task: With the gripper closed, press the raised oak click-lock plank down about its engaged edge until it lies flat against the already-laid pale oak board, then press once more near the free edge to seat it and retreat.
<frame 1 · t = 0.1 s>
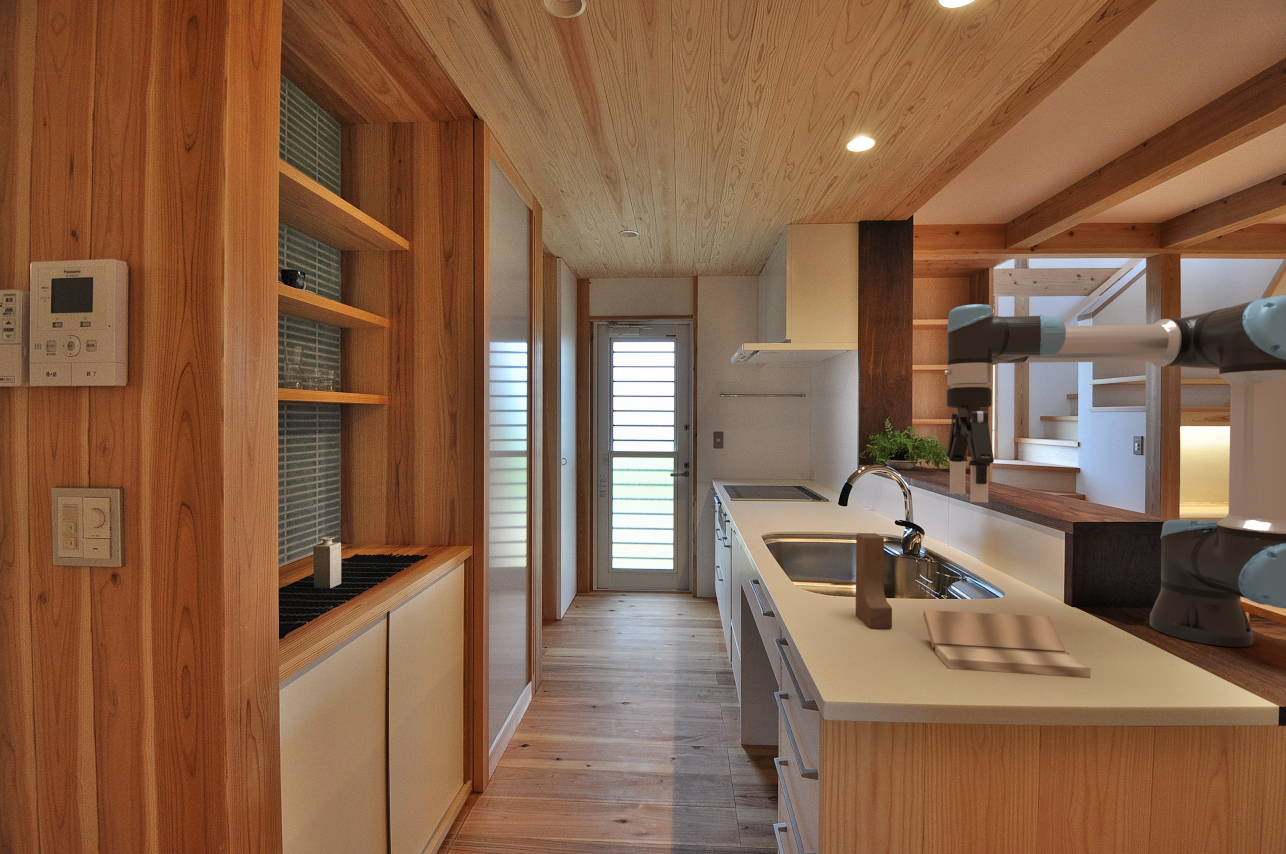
hand: (967, 497, 112), 28 cm above the countertop, fingers open, 13 cm apart
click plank: (991, 632, 108), point 3 cm above the countertop, hinge at 38.0°
wooden block: (873, 622, 123), on the countertop
laid board: (1008, 665, 101), on the countertop
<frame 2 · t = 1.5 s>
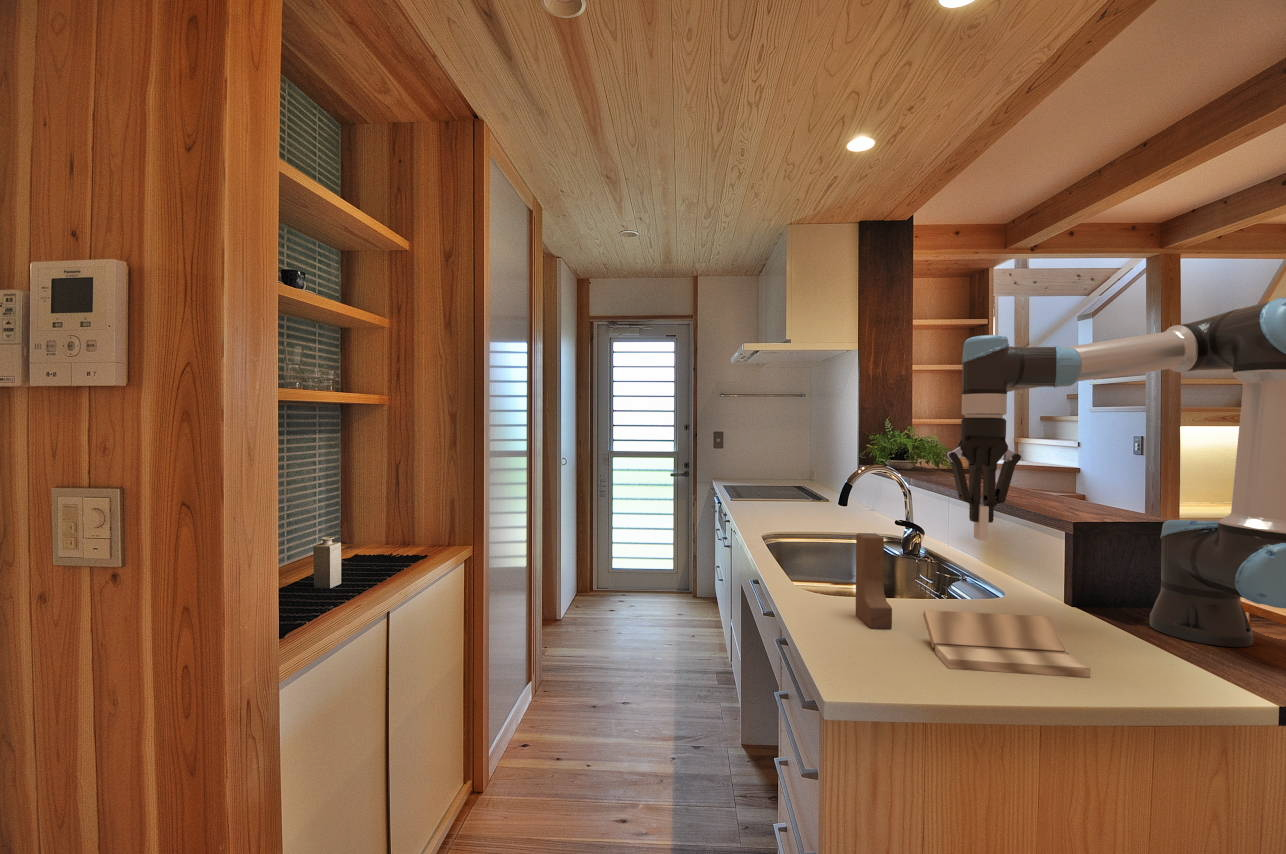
hand: (980, 539, 112), 20 cm above the countertop, fingers closed
nothing on the countertop moved.
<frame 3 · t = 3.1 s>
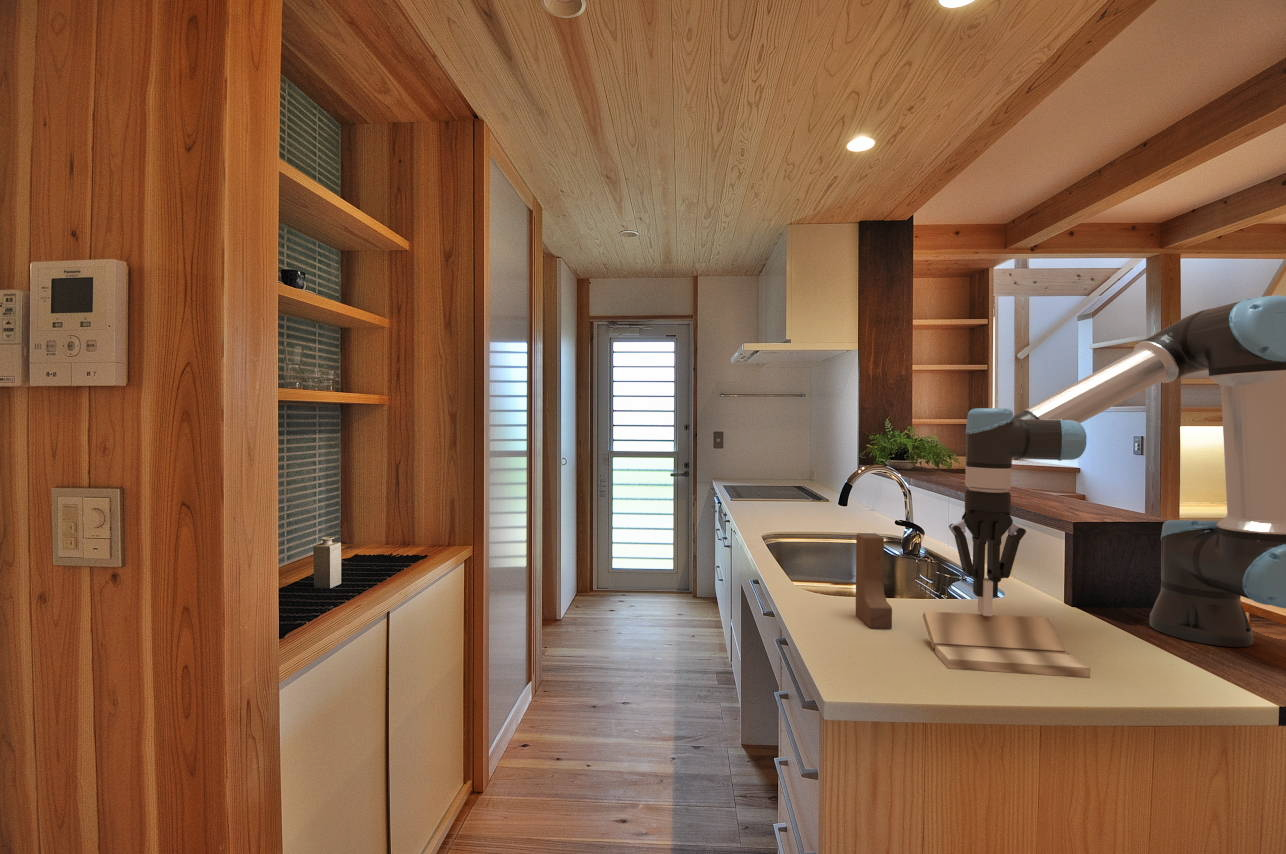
hand: (984, 613, 110), 6 cm above the countertop, fingers closed
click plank: (991, 632, 108), point 3 cm above the countertop, hinge at 35.2°, touching gripper
everything else where it was.
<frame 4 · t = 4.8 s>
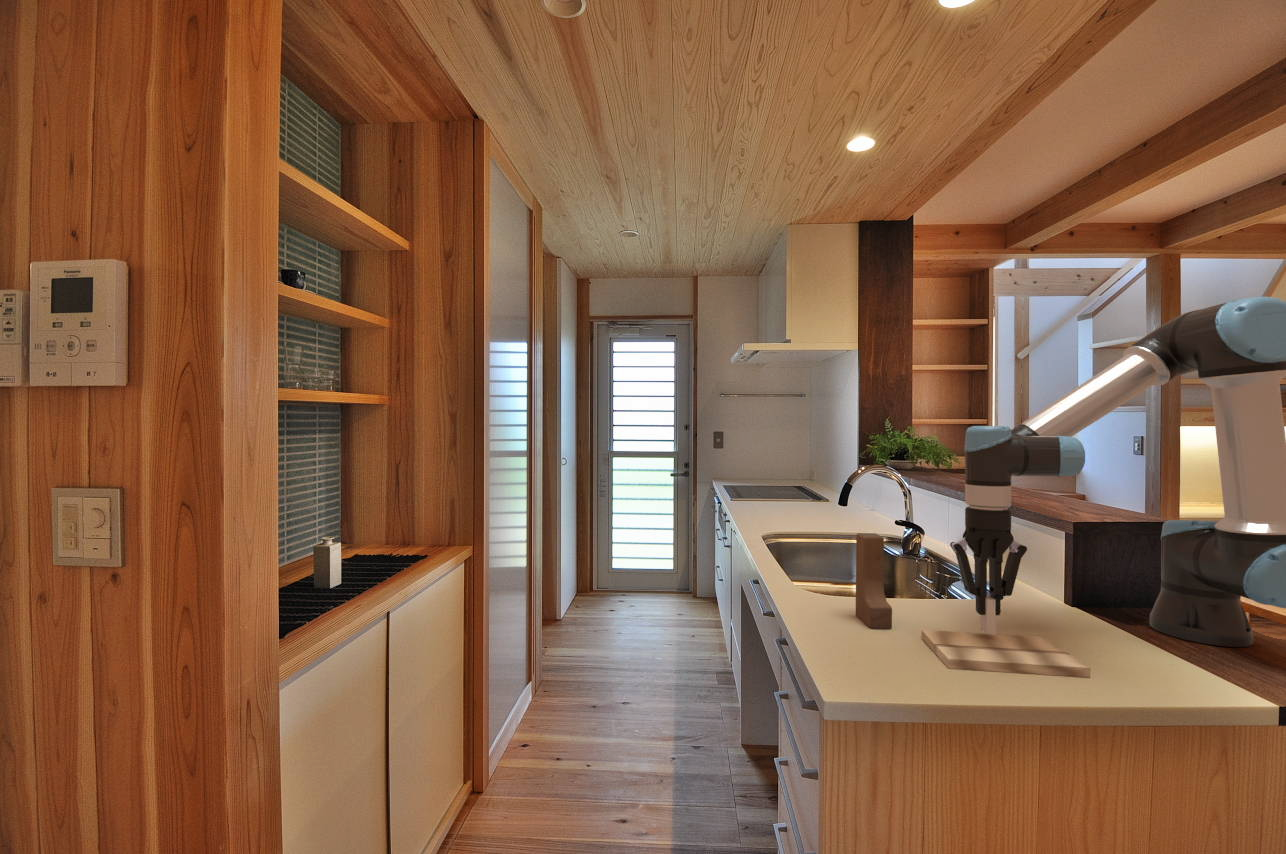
hand: (988, 631, 110), 3 cm above the countertop, fingers closed
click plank: (990, 644, 108), point 1 cm above the countertop, hinge at 1.1°
everything else where it was.
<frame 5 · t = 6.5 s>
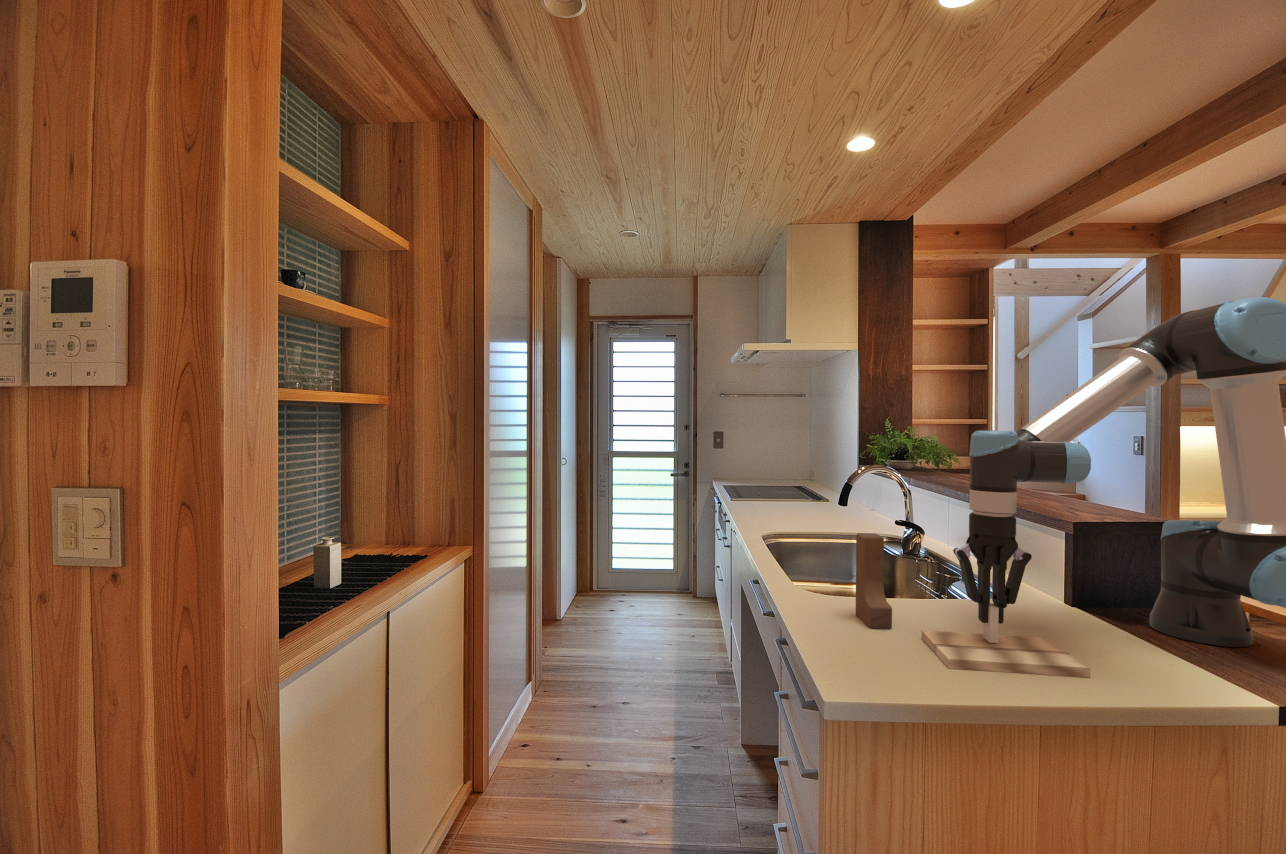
hand: (990, 640, 108), 2 cm above the countertop, fingers closed
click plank: (990, 644, 108), point 1 cm above the countertop, hinge at 0.6°, touching gripper
everything else where it was.
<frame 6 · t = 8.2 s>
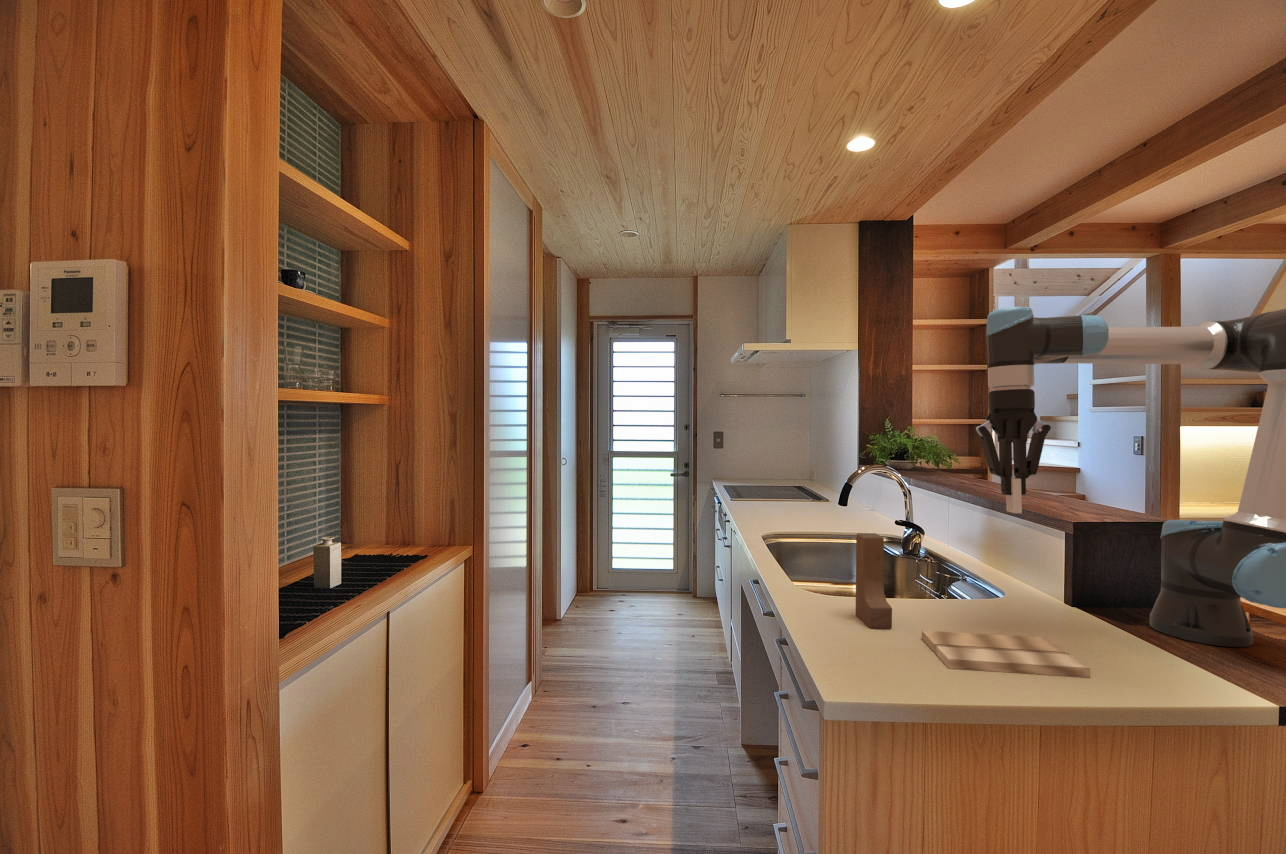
hand: (1014, 512, 112), 25 cm above the countertop, fingers closed
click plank: (990, 644, 108), point 1 cm above the countertop, hinge at 0.5°
everything else where it was.
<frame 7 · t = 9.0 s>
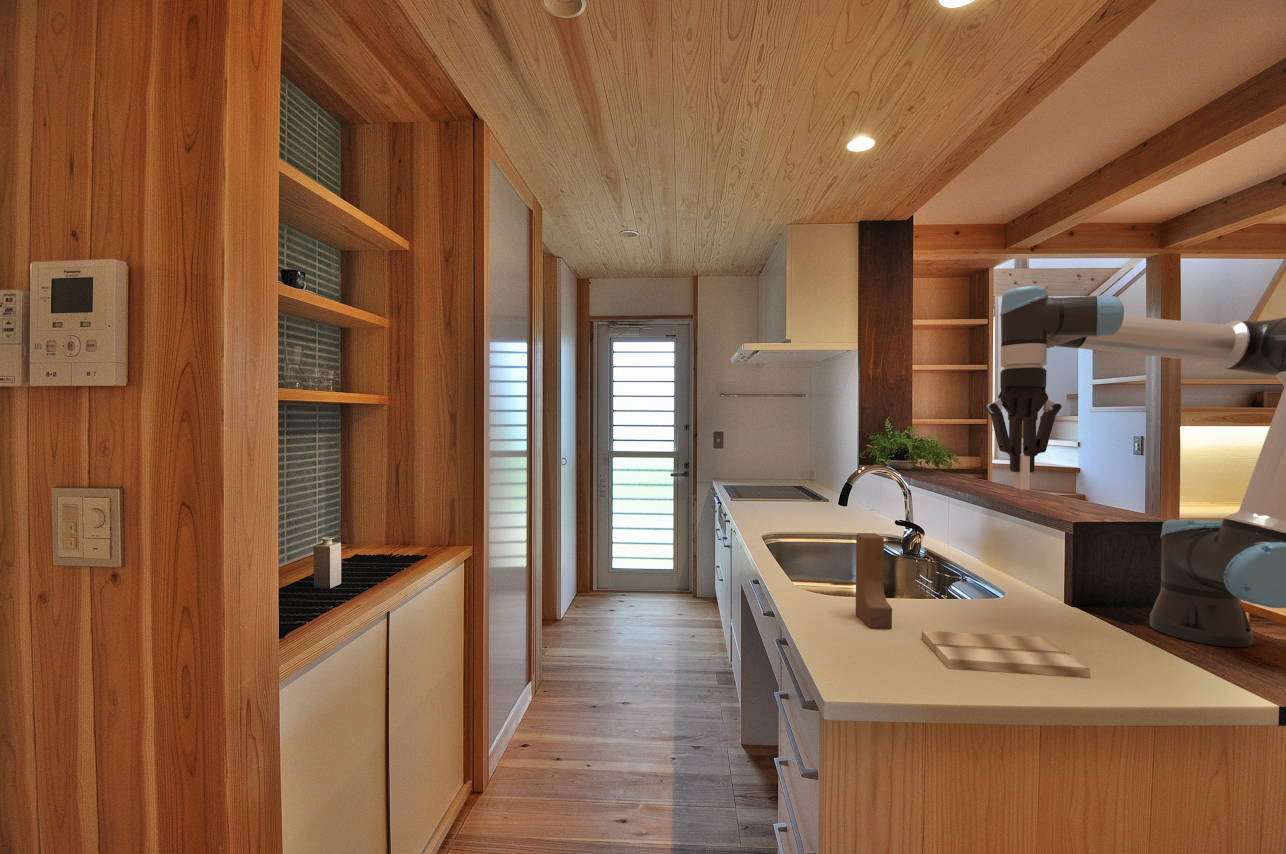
hand: (1021, 489, 113), 29 cm above the countertop, fingers closed
nothing on the countertop moved.
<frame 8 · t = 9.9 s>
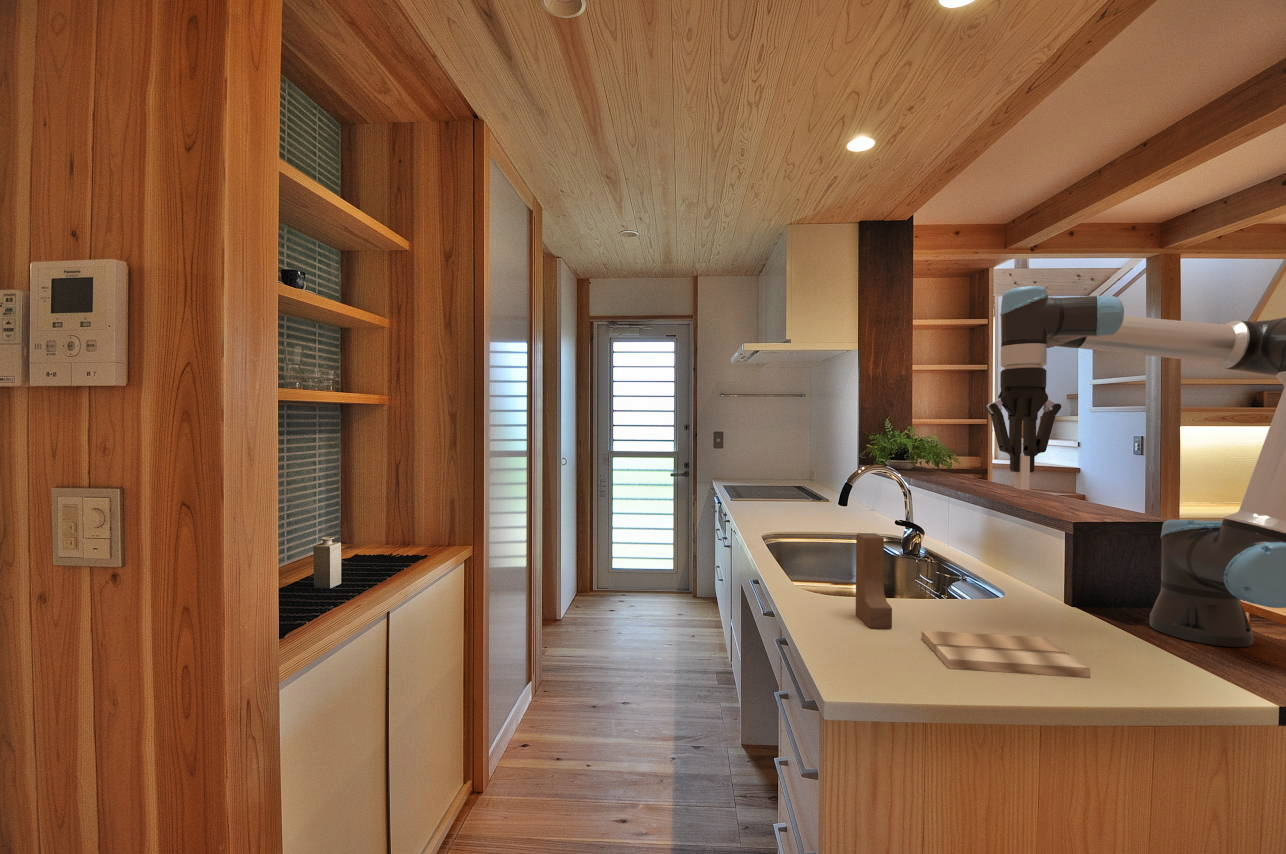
hand: (1021, 489, 113), 29 cm above the countertop, fingers closed
nothing on the countertop moved.
at the end: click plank at +0° (first picture: +38°) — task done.
